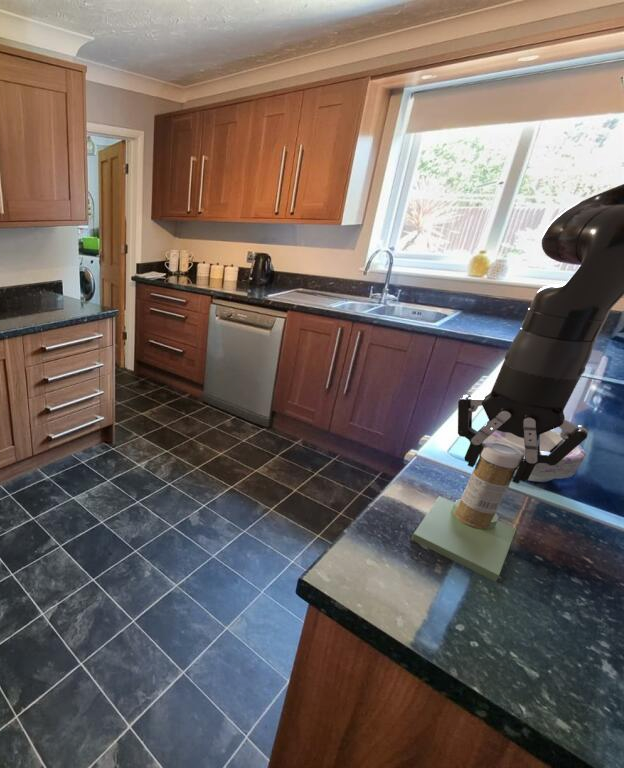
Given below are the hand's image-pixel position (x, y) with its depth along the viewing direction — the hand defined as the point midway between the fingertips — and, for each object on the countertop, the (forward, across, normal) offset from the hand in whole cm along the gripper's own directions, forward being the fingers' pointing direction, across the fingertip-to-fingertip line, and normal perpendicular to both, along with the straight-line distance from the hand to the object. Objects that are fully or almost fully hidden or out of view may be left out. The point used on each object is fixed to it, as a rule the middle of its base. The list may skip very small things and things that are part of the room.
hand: (493, 471), depth 63 cm
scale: (+15, 0, -3) cm, 15 cm away
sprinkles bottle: (+10, 0, 0) cm, 10 cm away
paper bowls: (+15, -3, -37) cm, 40 cm away
